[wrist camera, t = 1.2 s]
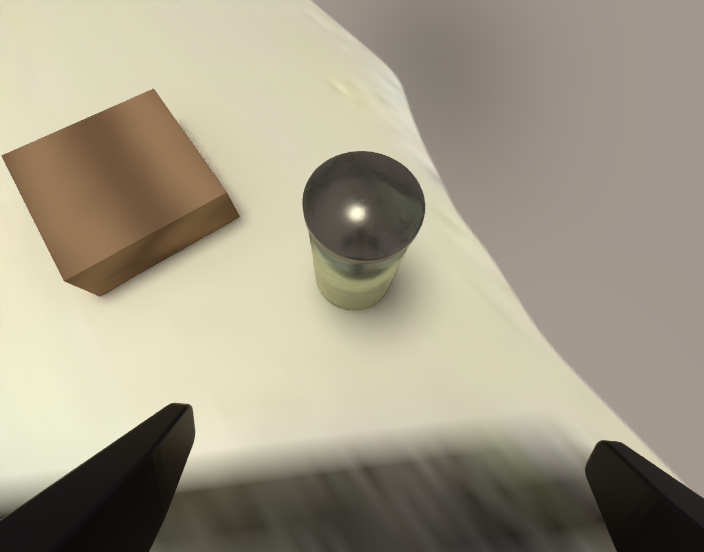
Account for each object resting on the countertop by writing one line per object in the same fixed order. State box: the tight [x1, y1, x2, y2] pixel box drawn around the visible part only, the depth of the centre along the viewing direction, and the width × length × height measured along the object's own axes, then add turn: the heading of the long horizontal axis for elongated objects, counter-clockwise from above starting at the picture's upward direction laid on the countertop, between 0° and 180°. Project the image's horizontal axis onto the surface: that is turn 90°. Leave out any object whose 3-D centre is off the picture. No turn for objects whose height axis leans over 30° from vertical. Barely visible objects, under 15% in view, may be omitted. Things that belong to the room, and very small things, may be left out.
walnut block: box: [2, 89, 239, 296], centre depth 23 cm, size 10×10×3 cm
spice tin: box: [303, 151, 425, 310], centre depth 19 cm, size 5×5×9 cm
